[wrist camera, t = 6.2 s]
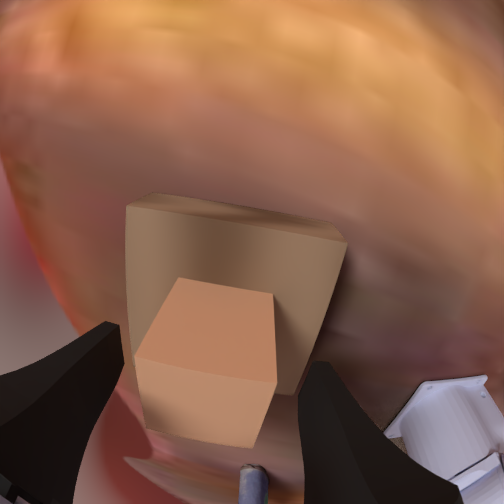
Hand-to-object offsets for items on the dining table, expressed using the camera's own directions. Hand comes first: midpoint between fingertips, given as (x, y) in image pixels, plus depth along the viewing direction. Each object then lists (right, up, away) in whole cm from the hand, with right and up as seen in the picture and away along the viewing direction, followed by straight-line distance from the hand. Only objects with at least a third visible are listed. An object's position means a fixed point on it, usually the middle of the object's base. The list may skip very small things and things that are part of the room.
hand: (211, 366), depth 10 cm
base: (0, +2, +6) cm, 6 cm away
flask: (+2, -22, +15) cm, 26 cm away
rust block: (0, +1, +3) cm, 3 cm away
